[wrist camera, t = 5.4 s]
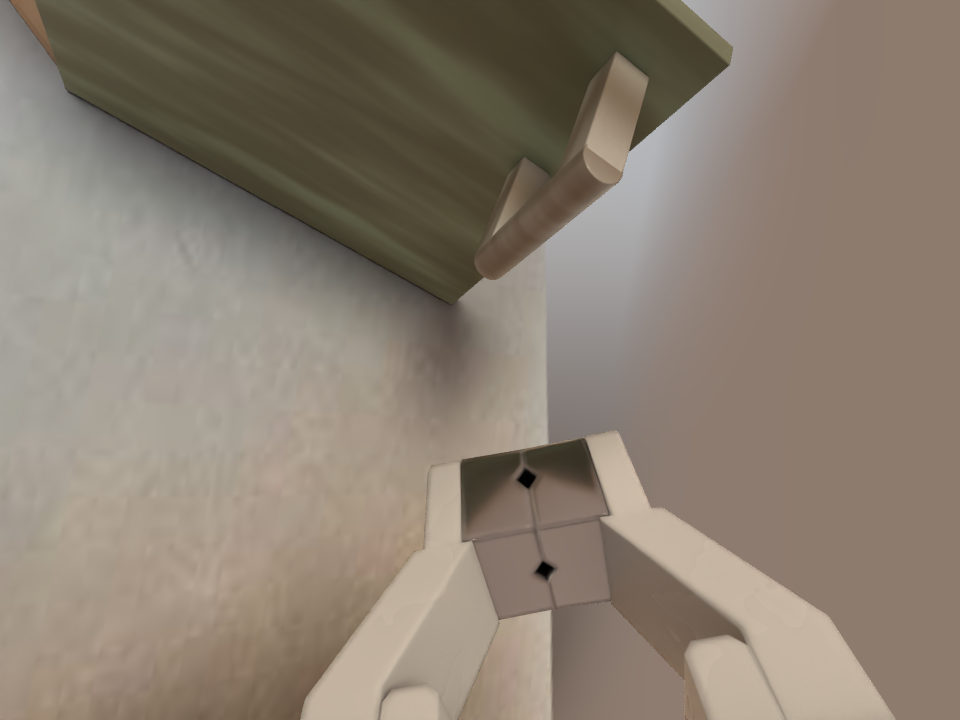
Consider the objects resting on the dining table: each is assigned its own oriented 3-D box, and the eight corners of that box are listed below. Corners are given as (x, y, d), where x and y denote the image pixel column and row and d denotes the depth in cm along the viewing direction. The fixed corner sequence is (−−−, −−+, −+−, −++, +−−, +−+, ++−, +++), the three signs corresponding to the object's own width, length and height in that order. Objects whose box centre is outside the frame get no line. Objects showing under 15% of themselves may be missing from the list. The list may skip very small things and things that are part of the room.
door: (423, 373, 36) (707, 188, 15) (-3, 158, 28) (-609, -824, 7) (456, 294, 39) (734, 46, 18) (76, 78, 31) (-205, -801, 10)
